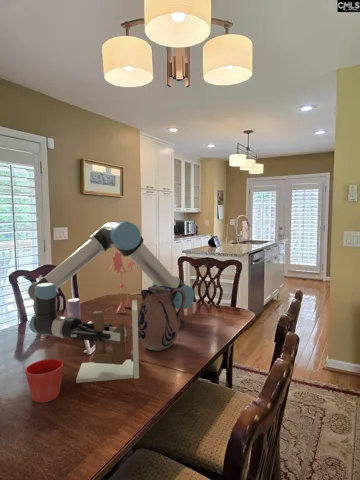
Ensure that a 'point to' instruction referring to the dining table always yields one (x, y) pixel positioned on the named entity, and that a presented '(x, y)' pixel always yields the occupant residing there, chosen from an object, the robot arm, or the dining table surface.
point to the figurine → (117, 266)
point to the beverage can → (73, 308)
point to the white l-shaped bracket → (114, 371)
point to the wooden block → (118, 347)
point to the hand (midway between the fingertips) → (122, 334)
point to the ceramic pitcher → (159, 317)
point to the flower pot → (44, 379)
